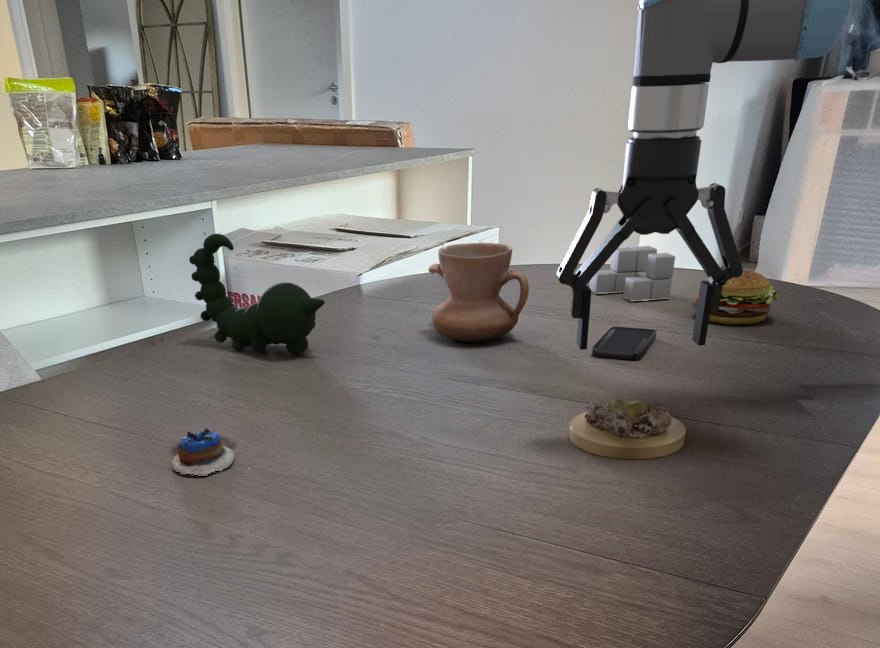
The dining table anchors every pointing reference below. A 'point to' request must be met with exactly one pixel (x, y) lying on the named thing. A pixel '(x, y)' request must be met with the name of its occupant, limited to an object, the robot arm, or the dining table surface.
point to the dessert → (202, 453)
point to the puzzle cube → (637, 274)
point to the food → (744, 299)
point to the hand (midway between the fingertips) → (639, 344)
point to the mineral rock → (628, 418)
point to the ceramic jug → (476, 292)
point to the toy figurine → (254, 307)
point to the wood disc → (626, 440)
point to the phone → (624, 343)
